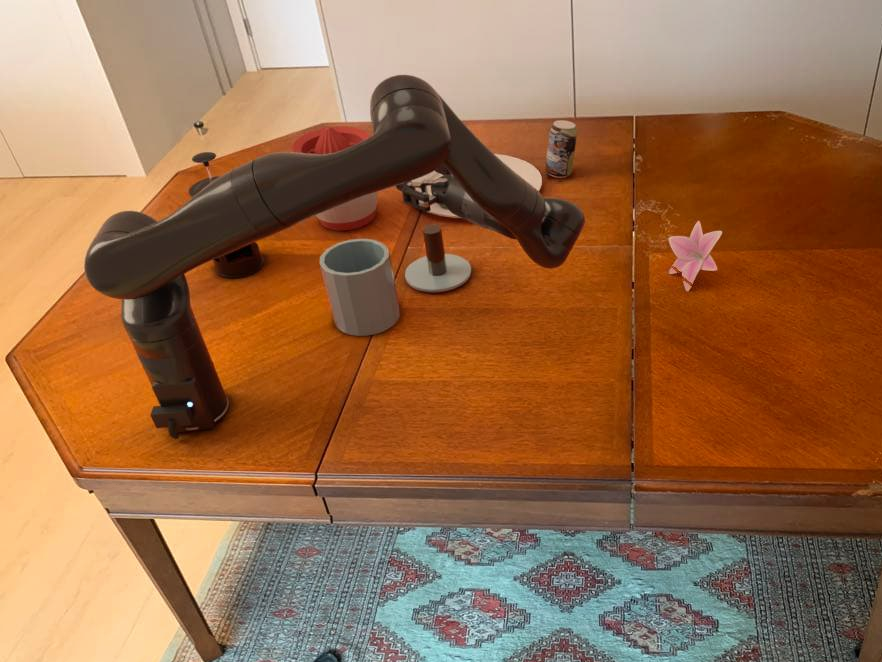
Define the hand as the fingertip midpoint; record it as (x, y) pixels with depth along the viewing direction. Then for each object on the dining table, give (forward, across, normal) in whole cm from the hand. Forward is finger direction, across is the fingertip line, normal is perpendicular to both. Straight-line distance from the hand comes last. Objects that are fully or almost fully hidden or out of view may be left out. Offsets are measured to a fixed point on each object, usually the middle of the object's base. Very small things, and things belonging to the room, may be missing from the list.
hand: (416, 172), depth 141 cm
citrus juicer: (+30, -2, +21) cm, 36 cm away
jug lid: (-2, 0, +20) cm, 20 cm away
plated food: (+18, -29, +21) cm, 40 cm away
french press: (+32, +22, +21) cm, 44 cm away
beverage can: (+8, -47, +20) cm, 52 cm away
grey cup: (-2, +17, +21) cm, 27 cm away
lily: (-39, -31, +20) cm, 54 cm away
